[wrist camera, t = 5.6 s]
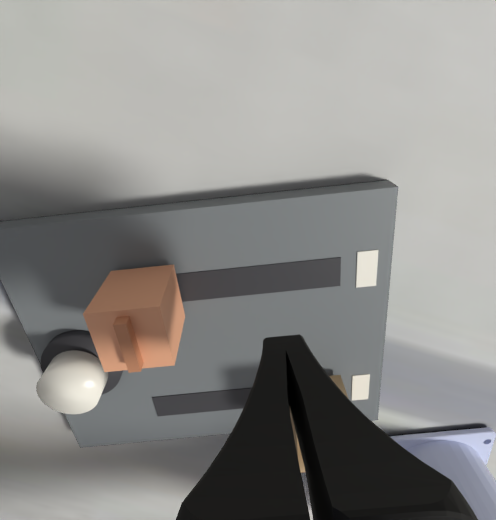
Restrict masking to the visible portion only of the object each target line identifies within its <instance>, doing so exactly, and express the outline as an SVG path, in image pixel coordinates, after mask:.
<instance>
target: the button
mask: <svg viewBox="0 0 496 520" xmlns="http://www.w3.org/2000/svg"><path fill="white" fill-rule="evenodd" d="M107 380H108V372H104V370H103V367H102V364H101V362H100V359H98V358H97V357H95V356H94V355H92V354H89V353H87V352H83V351H76V350H71V351H65V352H62V353H60V354H58V355H56V356H55V357H54V358H53V359H52V361H51V362H50V364H49V365H48V367H47V368H46V370H45V371H44V373H43V375H42V376H41V378H40V379H39V381H38V383H37V387H36V389H37V394H38V396H39V398H40V399H41V401H42V402H43V403H44V404H45V405H47V406H48V407H50V408H51V409H53V410H55V411H58V412H61V413H65V414H82V413H85V412H88V411H90V410H92V409H93V408H94V407H95V406H96V405H97V403H98V401H99V399H100V396H101V394H102V392H103V390H104V387H105V385H106V383H107Z"/></svg>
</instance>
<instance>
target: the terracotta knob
mask: <svg viewBox="0 0 496 520" xmlns="http://www.w3.org/2000/svg"><path fill="white" fill-rule="evenodd" d="M83 316H84V319H85V322H86V324H87V327H88V330H89V332H90V335H91V338H92V340H93V343H94V346H95V348H96V351H97V354H98V356H99V359H100V362H101V364H102V367H103V370H104V372H112V371H122V370H128V372H129V373H131V372H141V370H142V369H143V368H153V367H164V366H174V365H175V362H176V357H177V352H178V348H179V343H180V339H181V334H182V329H183V325H184V320H185V313H184V308H183V304H182V299H181V295H180V290H179V285H178V281H177V276H176V272H175V267H174V264H173V265H164V266H154V267H144V268H134V269H125V270H115V271H111V272H110V273H109V275H108V276H107V278H106V279H105V281H104V282H103V284H102V285H101V287H100V289H99V290H98V292H97V293H96V295H95V296H94V298H93V299H92V301H91V302H90V304H89V305H88V307H87V308H86V310H85V311H84V313H83Z"/></svg>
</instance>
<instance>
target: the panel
mask: <svg viewBox="0 0 496 520" xmlns="http://www.w3.org/2000/svg"><path fill="white" fill-rule="evenodd" d="M397 195H398V186H396V185H395V184H393V183H392V182H390V181H389V180H383V181H374V182H364V183H355V184H346V185H336V186H327V187H318V188H308V189H299V190H289V191H280V192H271V193H261V194H252V195H243V196H233V197H224V198H215V199H205V200H196V201H186V202H177V203H168V204H158V205H149V206H140V207H130V208H121V209H112V210H102V211H93V212H83V213H74V214H65V215H55V216H46V217H37V218H27V219H18V220H9V221H0V280H1V282H2V284H3V286H4V288H5V290H6V292H7V294H8V296H9V298H10V301H11V303H12V305H13V307H14V309H15V311H16V313H17V315H18V317H19V320H20V322H21V324H22V326H23V328H24V330H25V332H26V334H27V336H28V338H29V341H30V343H31V345H32V347H33V349H34V351H35V353H36V355H37V357H38V360H39V362H40V364H41V368H42V371H43V373H44V371H45V370H46V368H47V367H48V365H49V364H50V362H51V361H52V359H53V358H54V357H55V356H56V355H58V354H60V353H62V352H65V351H71V350H76V351H83V352H87V353H89V354H92V355H94V356H95V357H97V358H98V359H99V356H98V354H97V351H96V348H95V346H94V343H93V340H92V338H91V335H90V332H89V330H88V327H87V324H86V322H85V319H84V316H83V313H84V311H85V310H86V308H87V307H88V305H89V304H90V302H91V301H92V299H93V298H94V296H95V295H96V293H97V292H98V290H99V289H100V287H101V285H102V284H103V282H104V281H105V279H106V278H107V276H108V275H109V273H110V272H111V271H115V270H125V269H134V268H144V267H154V266H164V265H173V264H174V267H175V272H176V276H177V281H178V285H179V290H180V295H181V299H182V304H183V308H184V313H185V320H184V325H183V329H182V334H181V339H180V343H179V348H178V352H177V357H176V362H175V365H174V366H164V367H153V368H143V369H142V370H141V372H131V373H129V372H128V370H122V371H112V372H108V380H107V383H106V385H105V387H104V390H103V392H102V394H101V396H100V399H99V401H98V403H97V405H96V406H95V407H94V408H93V409H92V410H90V411H88V412H85V413H82V414H65V413H64V414H65V416H66V418H67V421H68V423H69V425H70V427H71V429H72V431H73V433H74V435H75V437H76V440H77V442H78V444H79V446H80V448H81V447H92V446H103V445H114V444H125V443H135V442H146V441H157V440H168V439H179V438H189V437H200V436H211V435H222V434H231V432H232V430H233V428H234V427H235V425H236V423H237V421H238V419H239V417H240V415H241V413H242V411H243V408H244V406H245V404H246V402H247V399H248V397H249V394H250V391H251V389H252V386H253V384H254V381H255V378H256V374H257V371H258V368H259V364H260V360H261V355H262V349H263V340H264V339H265V338H267V337H278V336H288V335H299V334H300V335H301V336H303V338H304V340H305V342H306V344H307V345H308V347H309V349H310V350H311V352H312V353H313V355H314V356H315V358H316V359H317V361H318V362H319V364H320V365H321V366H322V368H323V369H324V370H325V372H326V373H327V374H328V376H332V375H341V378H342V381H343V384H344V387H345V390H346V392H347V395H348V398H349V400H350V401H351V402H352V403H353V404H354V405H355V406H356V407H357V408H358V409H359V410H360V411H361V412H362V413H363V414H364V415H365V416H366V417H367V418H368V419H369V420H371V421H373V420H378V410H379V399H380V387H381V376H382V365H383V353H384V342H385V331H386V319H387V308H388V297H389V286H390V274H391V263H392V252H393V240H394V229H395V218H396V206H397Z"/></svg>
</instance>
